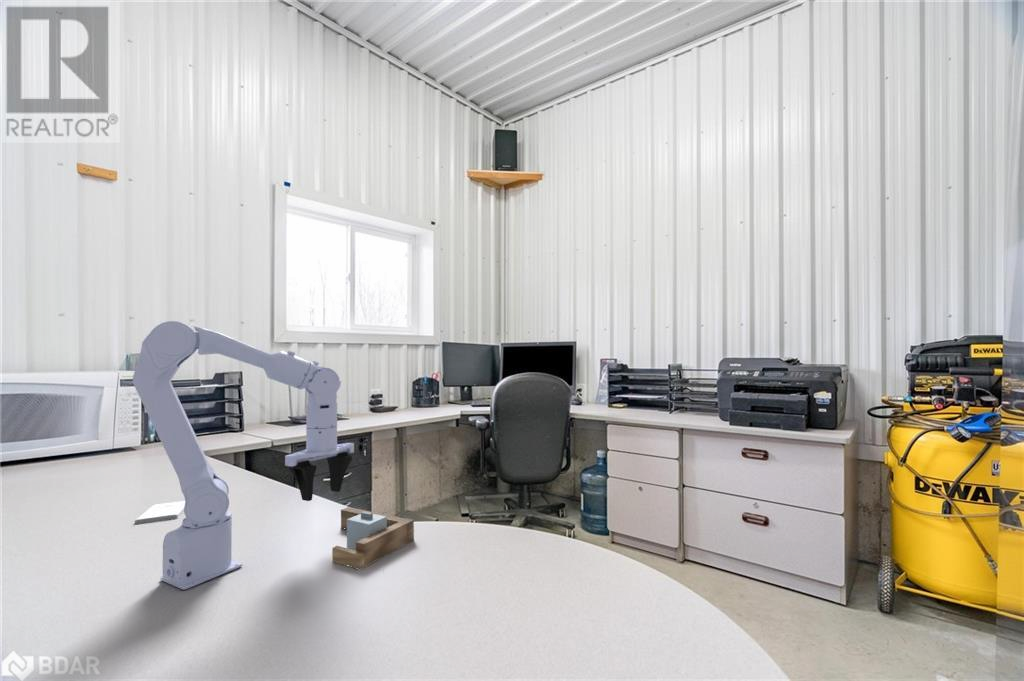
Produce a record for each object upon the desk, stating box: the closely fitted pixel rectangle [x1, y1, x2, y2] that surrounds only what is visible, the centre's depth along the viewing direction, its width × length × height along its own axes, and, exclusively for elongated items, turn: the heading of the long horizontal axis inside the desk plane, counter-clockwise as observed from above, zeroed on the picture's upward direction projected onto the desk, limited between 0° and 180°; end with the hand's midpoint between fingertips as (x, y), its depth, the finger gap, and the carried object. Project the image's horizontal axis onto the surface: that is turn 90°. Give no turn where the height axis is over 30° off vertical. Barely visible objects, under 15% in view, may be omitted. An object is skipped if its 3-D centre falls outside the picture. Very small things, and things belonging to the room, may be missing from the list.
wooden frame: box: [331, 506, 415, 570], centre depth 88 cm, size 14×19×4 cm
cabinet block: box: [346, 510, 387, 551], centre depth 86 cm, size 4×6×7 cm
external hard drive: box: [134, 500, 185, 525], centre depth 110 cm, size 2×8×12 cm
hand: (321, 495), depth 89 cm, fingers open, 6 cm apart
